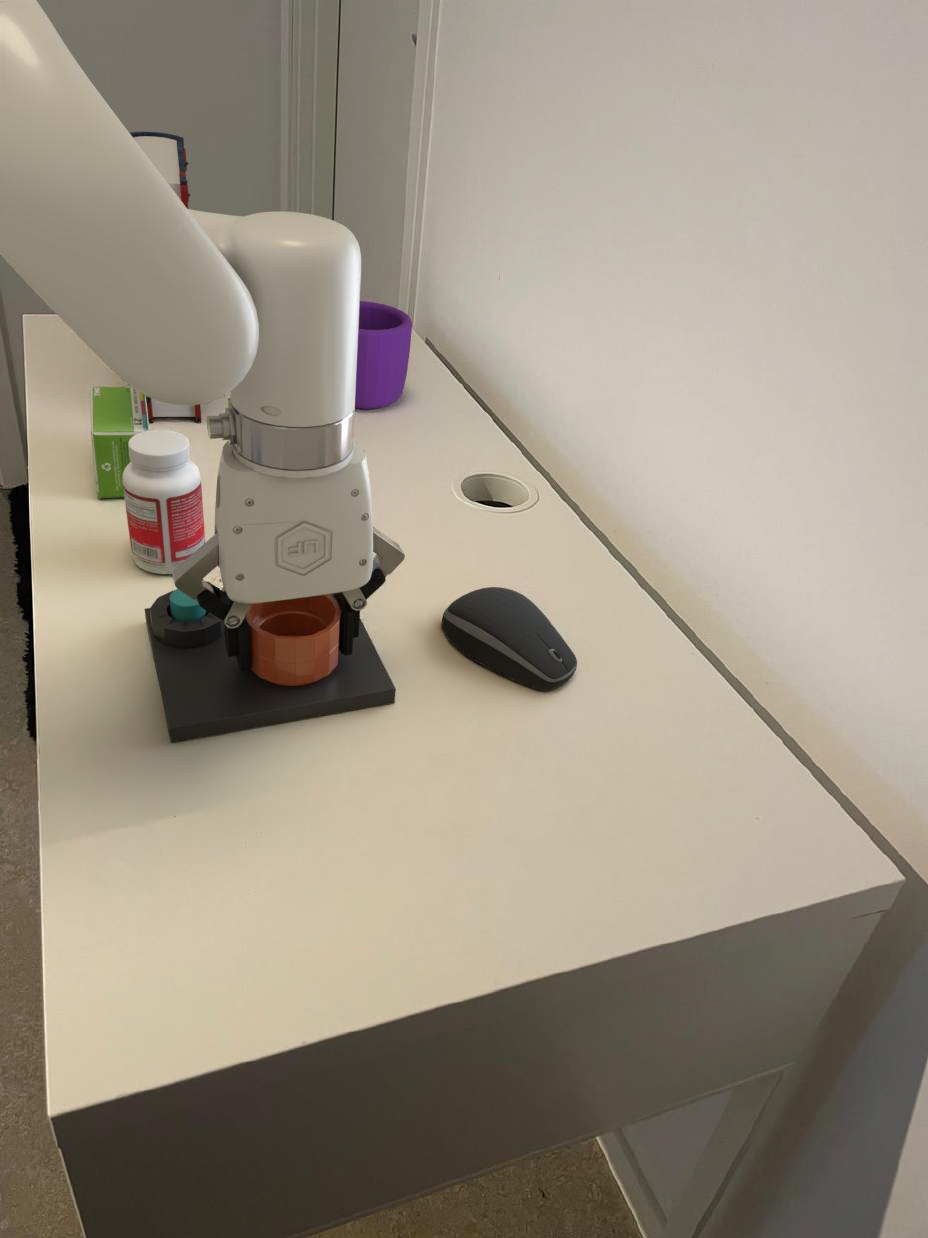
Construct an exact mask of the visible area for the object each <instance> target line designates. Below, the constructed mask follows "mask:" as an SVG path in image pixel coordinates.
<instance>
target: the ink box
mask: <svg viewBox="0 0 928 1238" xmlns="http://www.w3.org/2000/svg"><path fill="white" fill-rule="evenodd" d="M89 395H90V396H89V397H90V400H89V401H90V403H89V404H90V437H91V448H92V457H93V469H94V477H95V485H96V486H95V487H96V494H97V499H98V500H101V499H125V497H124V489H123V479H122V476H123V472H124V469H125V468H126V466H127V465H128V464H129V463H130V462H131V461H130V458H129V446H128V443H129V440H130V439H131V438H132V437H133V436H135V435H136V434H139V433H142V432H145V431H150V430H151V429H150V423H149V421H148V412H147V403H146V395H144V394H142V393H141V392H139V391H137V390H135V389H134V388H132V387H131V386H91V387H90V388H89Z"/></svg>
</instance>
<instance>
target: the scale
mask: <svg viewBox="0 0 928 1238" xmlns="http://www.w3.org/2000/svg"><path fill="white" fill-rule="evenodd" d="M173 591H174V590H170V591H169V592H166V593H165V594H162V595H160V596H158V597H157V598H156V599H155V601H154V602H153V603H152V605H151V606H150V607H147V608H144V618H145V625H146V630H147V634H148V639H149V645H150V650H151V654H152V659H153V663H154V668H155V672H156V679H157V682H158V687H159V692H160V698H161V703H162V707H163V713H164V716H165V717H164V718H165V721H166V727H167V731H168V735H169V736H168V737H169V741H170V744H175V743H180V742H185V741H191V740H196V739H203V738H209V737H213V736H218V735H224V734H230V733H235V732H241V731H246V730H252V729H256V728H257V729H258V728H262V727H263V728H264V727H268V726H274V725H281V724H286V723H291V722H296V721H302V720H307V719H312V718H313V719H314V718H318V717H324V716H329V715H335V714H340V713H347V712H352V711H356V710H362V709H368V708H374V707H378V706H385V705H389V704H391V705H392V704H395V701H396V690H397V689H396V687H395V685H394V683H393V680H392V678H391V676H390V675H389V673H388V671H387V669H386V667H385V665H384V663H383V660H382V659H381V657H380V655H379V652H378V650H377V649H376V646H375V645H374V642H373V641H372V639H371V637H370V635H369V633H368V630H367V629H366V627H365V625H364V623H363V621H362V619H361V618H360V622H359V636H358V637H356V638H353V648H352V655H346V656H345V655H344V654H342V653H341V651H340V655H339V660H338V664H337V666H336V667H335V668H334V669H333V670H332V672H331V673H330V674H329V675H328V676H326V677H324V678H322V679H319V680H317V681H315V682H313V683H310V684H306V685H300V686H284V685H279V684H275V683H272V682H269V681H267V680H265V679H262V678H260V677H259V676H257V675H256V674H255V673H254V672H253V671H252V670H251V669H249V671H245V672H241V670H240V667H239V664H238V661H237V658H236V656H231V657H228V655H227V651H226V647H225V635H224V621H222V620H221V619H219V618H217V617H216V616H214V615H212V614H211V613H209V612H208V611H207V613H206V615H205V616H204V617H203V618H201V619H199V620H196V621H188V622H185V621H179V620H175V619H174V618H173V617H172V615H171V608H170V595H171V593H172V592H173ZM333 594H335V593H333ZM333 594H330V595H331V596H332V597H333Z"/></svg>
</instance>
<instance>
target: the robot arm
mask: <svg viewBox="0 0 928 1238" xmlns="http://www.w3.org/2000/svg"><path fill="white" fill-rule="evenodd" d="M0 256H1V257H2V258H3V259H4V260H5V261H6V263H7V264H8V265H9V266H10V267H11V268H12V269H13V270H14V271H15V272H16V273H17V274H18V275H19V277H20V278H21V279H22V280H23V281H24V282H25V283H26V284H27V285H28V287H30V288H31V289H32V291H34V292H35V294H37V296H39V298H40V299H41V300H42V301H43V302H44V303H45V304H47V306H48V307H49V308H50V309H51V310H52V311H53V312H54V313H55V314H56V315H57V316H58V317H59V318H60V319H61V320H62V321H63V322H64V323H65V324H66V325H67V327H68V328H70V329H71V330H72V331H73V332H74V333H75V334H76V336H77V337H78V338H79V339H80V340H81V341H83V343H84V344H85V345H87V347H89V349H90V350H91V351H92V352H93V353H94V354H95V355H96V356H97V357H98V358H99V359H100V360H101V361H102V362H103V363H104V364H105V365H106V366H107V367H108V368H109V369H110V370H111V371H113V373H114V374H116V375H117V377H119V378H120V379H121V380H122V381H123V382H124V383H125V384H127V385H128V386H129V387H132V388H134V389H135V390H137V391H139V392H141V393H142V394H144V395H146V396H147V397H150V398H153V399H155V400H158V401H161V402H164V403H169V404H174V405H198V404H200V405H203V404H208V403H210V402H213V401H216V400H218V399H221V398H222V397H224V396H226V395H227V394H229V393H230V394H229V395H230V396H229V397H228V398H227V403H228V404H227V405H228V406H227V407H225V411H224V413H223V412H221V413H219V414H218V415H211V416H206V427H207V428H206V429H207V435H208V438H209V439H210V440H212V439H213V440H214V439H221V440H222V441H226V442H225V443H224V445H223V446H222V450H221V453H220V454H221V455H220V458H219V459H220V460H219V465H218V471H217V481H216V488H215V489H216V490H215V491H216V492H215V493H216V494H215V504H214V505H215V507H214V534H213V535H212V536H211V537H210V538H209V539H207V540H206V541H205V544H203V545H202V546H201V547H200V548H199V549H198V550H196V551H195V552H194V553H193V554H192V555H191V556H189V557H188V558H187V559H186V560H185V561H184V562H182V563H181V564H180V565H179V566H178V567H177V568H176V569H174V571H173V572H172V574H171V575H172V580H173V583H174V586H175V588H176V589H179V590H180V591H181V592H183V593H184V594H186V595H187V596H188V597H190V598H191V599H192V600H193V599H194V600H195V601H196V602H198V603H199V605H200V607H201V608H203V609H204V610H206V611H208V612H209V613H211V614H212V615H214V616H216V617H217V618H219V619H221V620H222V621H224V635H225V647H226V651H227V655H228V657H231V656H236V658H237V661H238V664H239V667H240V670H241V672H245V671H249V669H251V647H250V628H249V625H248V622H247V619H246V614H247V612H248V610H249V608H250V607H251V605H252V604H255V603H265V602H273V601H281V600H289V599H297V598H304V597H312V596H319V595H326V594H333V593H335V594H333V597H334V598H335V599H336V600H337V602H338V604H339V606H340V609H341V611H342V612H341V633H340V634H341V635H340V651H341V653H342V654H344V655H345V656H346V655H352V648H353V638H356V637H358V636H359V622H360V619H361V611H363V610H364V609H365V608H366V607H367V605H368V601H367V600H368V599H369V598H370V597H371V596H372V595H374V593H376V591H377V590H379V589H380V588H381V587H382V586H383V585H384V584H385V583H386V581H387V580H386V579H387V578H386V577H388V576H389V575H391V574H393V572H394V571H395V570H396V569H397V567H399V565H401V564H402V562H404V560H405V557H406V555H405V553H404V551H403V550H402V548H401V546H400V545H399V543H397V542H396V541H394V539H391V537H389V536H388V535H386V534H384V533H383V532H381V530H379V529H377V528H376V527H375V526H374V525H373V520H374V519H373V503H372V501H373V500H372V489H371V479H370V471H369V466H368V459H367V455H366V452H365V449H363V448H362V446H361V445H360V444H359V443H358V442H357V440H355V439H354V437H355V417H356V416H355V413H356V412H355V411H356V408H355V390H356V369H357V348H358V327H359V305H360V301H361V283H362V282H361V281H362V252H361V248H360V244H359V241H358V239H357V238H356V236H355V234H354V233H353V232H352V231H351V230H350V229H349V228H348V227H347V226H345V225H344V224H341V223H340V222H338V221H335V220H333V219H330V218H328V217H324V216H321V215H316V214H311V213H307V212H306V213H305V212H297V211H282V210H281V211H280V210H279V211H278V210H277V211H264V212H263V211H262V212H255V213H251V214H248V215H244V216H243V215H232V214H225V213H224V214H223V213H217V212H209V211H202V210H197V209H196V210H195V209H190V208H188V209H187V208H186V207H185V205H184V204H183V203H182V201H181V200H180V199H179V197H178V196H177V195H176V193H175V192H174V191H173V189H172V188H171V187H170V185H169V184H168V183H167V182H166V180H165V179H164V178H163V176H162V175H161V174H160V172H159V171H158V170H157V168H156V167H155V166H154V165H153V163H152V162H151V161H150V159H149V158H148V157H147V155H146V154H145V153H144V151H143V150H142V149H141V148H140V146H139V145H138V144H137V142H136V141H135V140H134V138H133V137H132V136H131V135H130V132H129V130H128V129H127V128H126V127H125V125H124V124H123V123H122V121H121V120H120V118H119V117H118V116H117V115H116V114H115V112H114V110H113V109H112V108H111V107H110V105H109V104H108V103H107V101H106V100H105V98H104V97H103V96H102V94H101V93H100V92H99V90H98V89H97V88H96V87H95V85H94V84H93V83H92V81H91V80H90V79H89V77H88V75H87V74H86V73H85V71H84V70H83V69H82V67H81V66H80V64H79V63H78V61H77V59H76V58H75V57H74V56H73V54H72V52H71V51H70V49H69V48H68V46H67V45H66V43H65V41H64V40H63V39H62V37H61V36H60V34H59V32H58V31H57V29H56V27H55V26H54V23H52V21H51V20H50V18H49V17H48V15H47V14H46V12H45V10H44V9H43V8H42V6H41V5H40V3H39V2H38V0H0ZM374 554H375V555H374ZM217 567H218V568H219V573H220V578H221V582H222V586H223V587H222V588H219V587H217V586H216V585H214V584H213V583H211V582H210V581H205V580H204V578H205V577H207V576H208V575H209V574H210V573H212V572H213V570H214V569H216V568H217Z"/></svg>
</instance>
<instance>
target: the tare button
mask: <svg viewBox="0 0 928 1238" xmlns="http://www.w3.org/2000/svg"><path fill="white" fill-rule="evenodd" d="M172 591H173V592H172V593H171V595H170V608H171V615H172V617H173V618H174V619H175V620H179V621H185V622H188V621H196V620H199V619H201V618H203V617H204V616H205V615H206V613H207V611H206V610H204V609H203V608H201V607H200V605H199V603H198V602H196V601H195V600H194V599H193V600H192V599H191V598H190V597H188V596H187V595H186V594H184V593H183V592H181V591H180V590H179V589H177V588H176V589H174V590H172Z"/></svg>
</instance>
